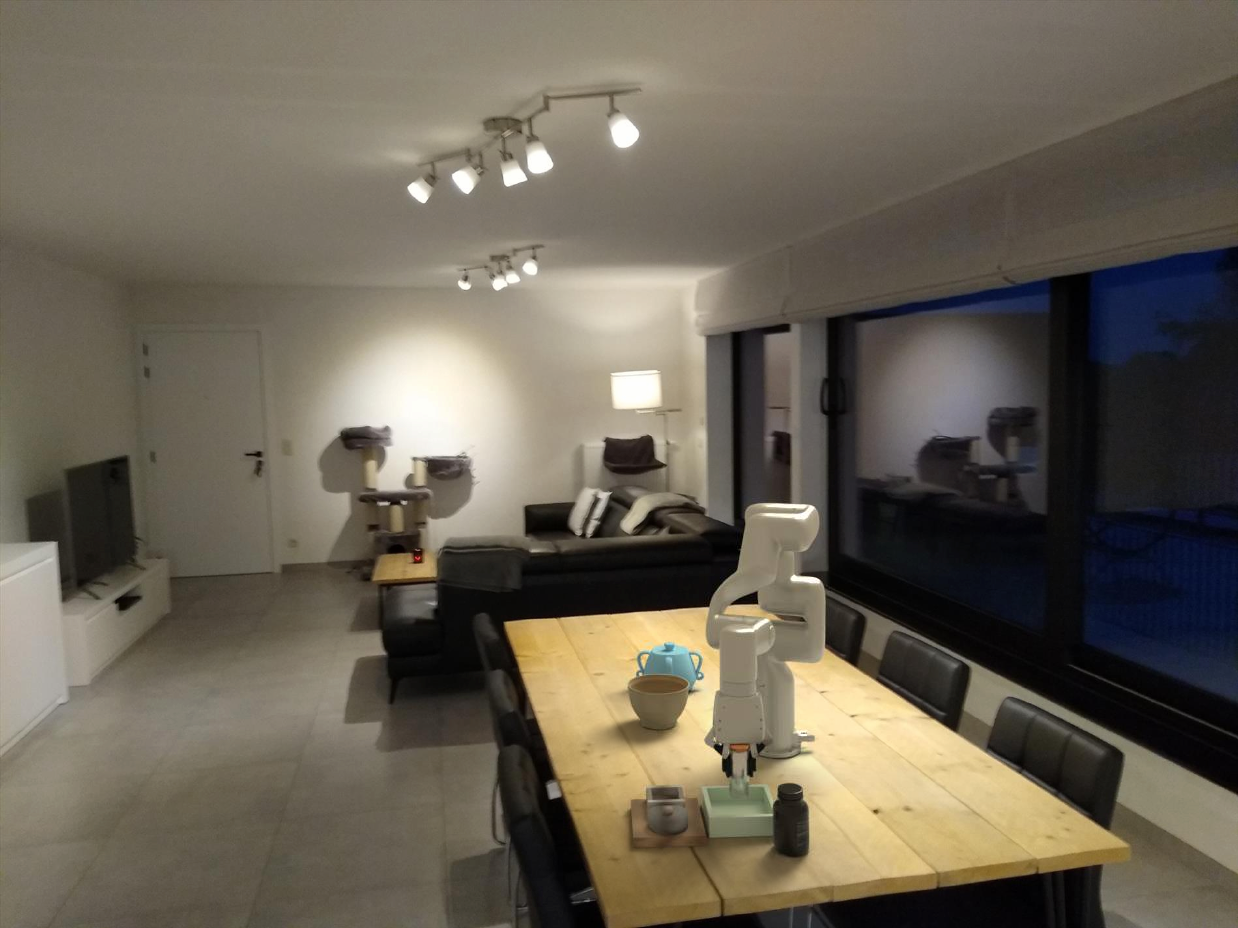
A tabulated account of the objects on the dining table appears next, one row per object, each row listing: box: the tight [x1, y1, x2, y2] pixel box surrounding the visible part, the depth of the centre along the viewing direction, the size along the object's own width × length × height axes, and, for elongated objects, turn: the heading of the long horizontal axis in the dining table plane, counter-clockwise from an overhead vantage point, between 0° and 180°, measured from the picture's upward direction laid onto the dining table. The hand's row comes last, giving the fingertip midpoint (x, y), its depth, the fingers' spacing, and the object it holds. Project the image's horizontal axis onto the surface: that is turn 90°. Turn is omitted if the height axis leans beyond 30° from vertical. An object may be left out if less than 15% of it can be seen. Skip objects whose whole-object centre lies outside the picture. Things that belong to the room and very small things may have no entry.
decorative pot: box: [635, 641, 705, 691], centre depth 262 cm, size 16×16×14 cm
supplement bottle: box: [772, 782, 810, 858], centre depth 171 cm, size 7×7×12 cm
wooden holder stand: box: [630, 784, 707, 849], centre depth 180 cm, size 14×16×6 cm
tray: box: [700, 783, 775, 839], centre depth 183 cm, size 14×14×4 cm
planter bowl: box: [627, 674, 690, 730], centre depth 235 cm, size 16×16×11 cm
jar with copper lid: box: [728, 744, 750, 799], centre depth 182 cm, size 5×5×11 cm
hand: (738, 773), depth 182 cm, fingers closed on jar with copper lid, 4 cm apart
